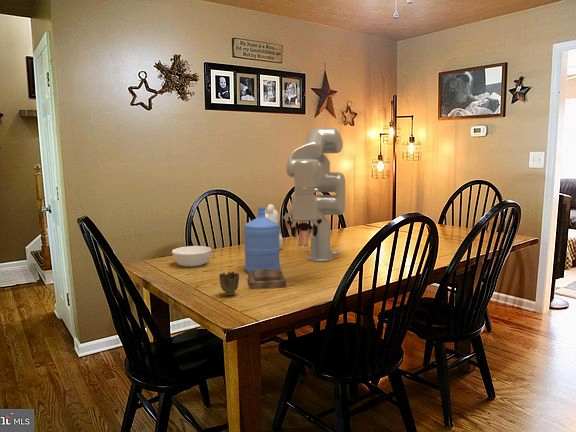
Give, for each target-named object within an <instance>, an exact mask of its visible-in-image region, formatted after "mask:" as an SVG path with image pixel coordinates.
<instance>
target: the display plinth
mask: <svg viewBox="0 0 576 432" xmlns="http://www.w3.org/2000/svg"><path fill="white" fill-rule="evenodd" d="M247 279H248V283H249V288H250V290H261V289H262V290H263V289H279V288H281V289H282V288H287V279H286V278H285V276H284V274H283V272H282V270H279V271H278V270H277V269H260V270H253V272H247Z"/></svg>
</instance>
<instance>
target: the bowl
mask: <svg viewBox="0 0 576 432" xmlns="http://www.w3.org/2000/svg"><path fill="white" fill-rule="evenodd" d="M171 253H172V257H173V259H174V261H175V263H177V264H178V265H179V266H182V267H189V268H191V267H199V266H202V265H204V264H206V263H207V262H208V260H209V259H210V256H212V255H211V254H212V248H211V247H209V246H203V245H190V246H189V245H188V246H181V247H177V248H174V249H172V250H171Z"/></svg>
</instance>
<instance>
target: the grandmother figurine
mask: <svg viewBox="0 0 576 432" xmlns="http://www.w3.org/2000/svg"><path fill="white" fill-rule="evenodd" d="M295 228H296V234H297V233H298V231H299V233H298V244H297V247H309V246H310V245H309V239H310V238H309V230H310V233H311V232H312V233H313V232H314V230H313V227H312V226H311V223H310V224H309V223H308V221H300V222H299V223H298V225H297V226H295Z"/></svg>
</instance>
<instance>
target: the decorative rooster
mask: <svg viewBox="0 0 576 432" xmlns="http://www.w3.org/2000/svg"><path fill="white" fill-rule="evenodd" d="M265 217H266V218H268V219H270V220H272V221H274V222H276V223H278V224H279V213H278V211H277V210H276V209H275V205H274V204H272V203H270V204H268V205H267V207H266V208H265ZM279 225H280V224H279ZM283 244H284V238H283V237H282V235H281V232H280V233H279V246H280V249H282V247H283Z"/></svg>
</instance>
